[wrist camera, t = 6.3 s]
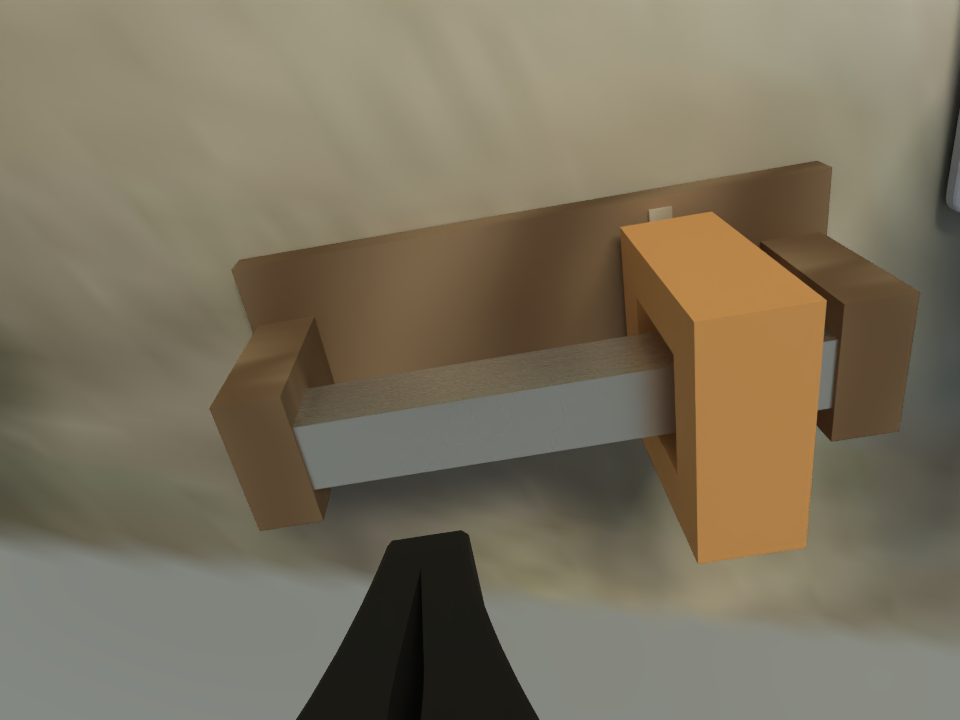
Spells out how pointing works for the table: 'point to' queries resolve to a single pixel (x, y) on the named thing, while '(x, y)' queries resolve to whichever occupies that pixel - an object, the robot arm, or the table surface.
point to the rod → (497, 409)
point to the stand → (526, 311)
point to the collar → (729, 382)
